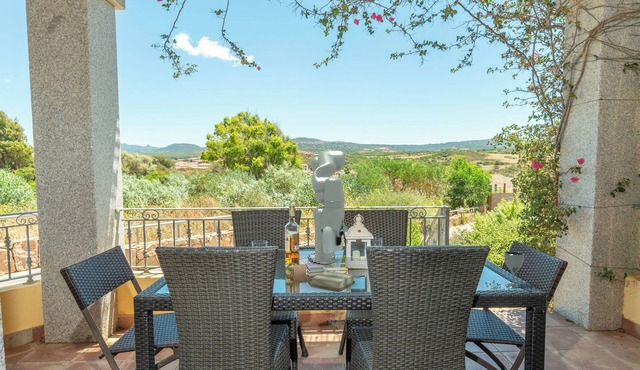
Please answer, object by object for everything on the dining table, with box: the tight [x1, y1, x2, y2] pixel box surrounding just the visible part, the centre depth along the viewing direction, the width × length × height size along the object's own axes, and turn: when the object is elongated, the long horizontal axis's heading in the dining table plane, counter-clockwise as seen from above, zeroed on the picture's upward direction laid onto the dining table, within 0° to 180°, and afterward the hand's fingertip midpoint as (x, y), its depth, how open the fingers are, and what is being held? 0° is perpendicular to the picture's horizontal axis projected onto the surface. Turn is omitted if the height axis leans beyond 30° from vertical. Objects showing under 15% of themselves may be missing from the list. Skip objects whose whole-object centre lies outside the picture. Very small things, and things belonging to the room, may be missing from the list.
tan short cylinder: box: [293, 264, 307, 283], centre depth 201 cm, size 6×6×7 cm
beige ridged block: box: [310, 270, 356, 293], centre depth 194 cm, size 15×15×4 cm
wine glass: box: [504, 250, 525, 288], centre depth 191 cm, size 8×8×15 cm
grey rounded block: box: [323, 227, 344, 254], centre depth 193 cm, size 10×4×12 cm, turn 131°
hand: (332, 244), depth 193 cm, fingers closed on grey rounded block, 5 cm apart
